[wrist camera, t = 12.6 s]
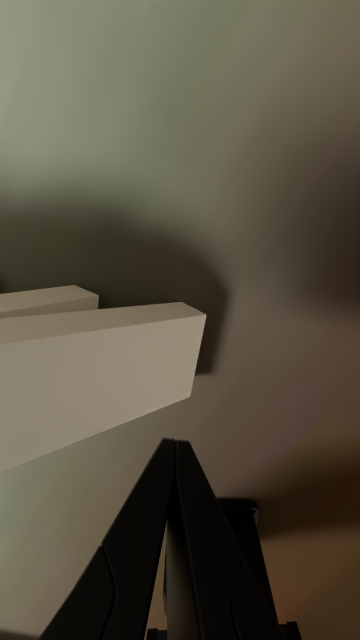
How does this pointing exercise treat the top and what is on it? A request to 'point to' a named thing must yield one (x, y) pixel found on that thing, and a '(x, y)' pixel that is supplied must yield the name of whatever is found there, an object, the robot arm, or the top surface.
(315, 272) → the top surface
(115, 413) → the tile
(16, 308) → the tile
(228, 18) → the top surface
